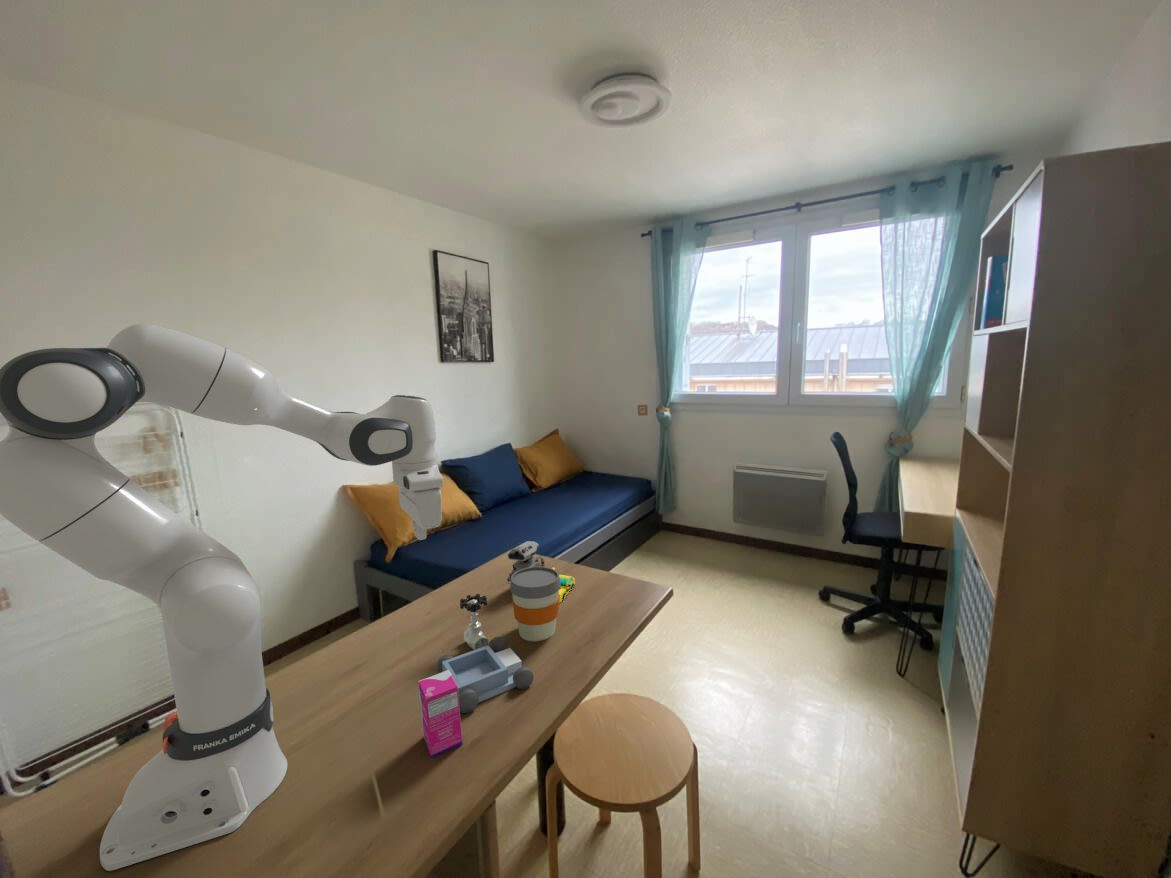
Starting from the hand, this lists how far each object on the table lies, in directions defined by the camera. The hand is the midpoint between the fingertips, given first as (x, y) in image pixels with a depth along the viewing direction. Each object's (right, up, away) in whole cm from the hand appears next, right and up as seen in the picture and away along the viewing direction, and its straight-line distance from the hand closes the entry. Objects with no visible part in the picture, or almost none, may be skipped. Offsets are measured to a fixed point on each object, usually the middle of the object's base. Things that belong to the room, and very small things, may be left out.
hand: (420, 537), depth 98 cm
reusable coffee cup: (+23, -28, +20) cm, 41 cm away
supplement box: (+9, -34, -15) cm, 38 cm away
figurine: (+17, -25, +42) cm, 52 cm away
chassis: (+13, -31, +2) cm, 34 cm away
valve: (+8, -30, +14) cm, 34 cm away
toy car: (+27, -26, +39) cm, 54 cm away
